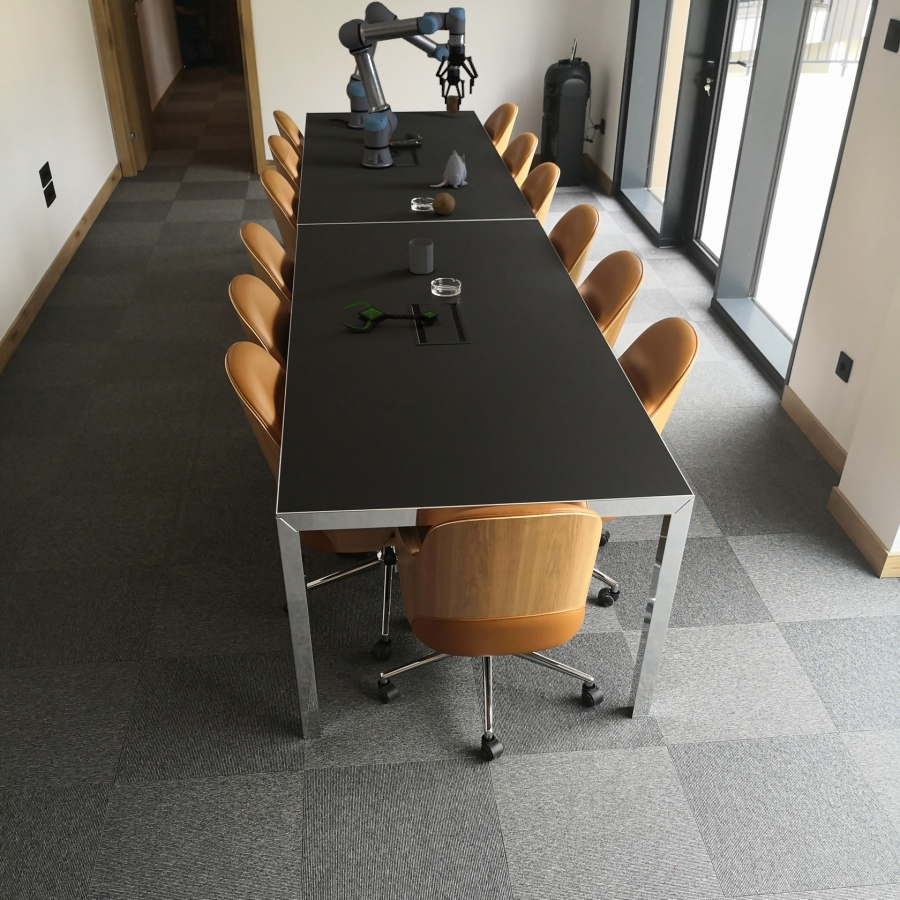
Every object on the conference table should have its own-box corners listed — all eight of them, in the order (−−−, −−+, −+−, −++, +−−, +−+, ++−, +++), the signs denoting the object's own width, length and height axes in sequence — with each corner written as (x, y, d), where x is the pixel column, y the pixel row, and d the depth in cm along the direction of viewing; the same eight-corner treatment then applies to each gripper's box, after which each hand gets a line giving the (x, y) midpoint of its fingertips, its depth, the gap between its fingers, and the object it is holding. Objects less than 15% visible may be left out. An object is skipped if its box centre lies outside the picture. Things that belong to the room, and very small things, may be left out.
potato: (453, 208, 369) (453, 189, 365) (456, 218, 357) (456, 199, 353) (431, 208, 368) (430, 189, 364) (432, 218, 356) (432, 199, 352)
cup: (409, 265, 311) (408, 238, 306) (432, 265, 312) (431, 238, 307) (410, 274, 304) (409, 246, 299) (433, 273, 305) (433, 246, 299)
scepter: (438, 296, 270) (341, 293, 268) (439, 326, 263) (340, 324, 261) (437, 309, 275) (342, 306, 273) (438, 339, 268) (341, 337, 266)
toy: (472, 184, 399) (472, 151, 391) (436, 195, 384) (436, 161, 376) (457, 180, 404) (458, 147, 396) (422, 191, 389) (421, 157, 381)
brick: (446, 113, 516) (446, 97, 511) (448, 110, 521) (449, 95, 517) (456, 113, 515) (457, 97, 510) (458, 111, 521) (459, 95, 516)
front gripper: (429, 45, 403) (429, 93, 414) (482, 46, 399) (481, 95, 410) (432, 42, 409) (432, 90, 421) (484, 44, 405) (483, 92, 416)
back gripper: (436, 68, 504) (435, 110, 516) (468, 70, 501) (467, 112, 513) (438, 66, 510) (438, 108, 522) (470, 68, 507) (469, 109, 519)
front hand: (456, 93), depth 415 cm, fingers open, 13 cm apart
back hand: (452, 110), depth 518 cm, fingers closed on brick, 6 cm apart
